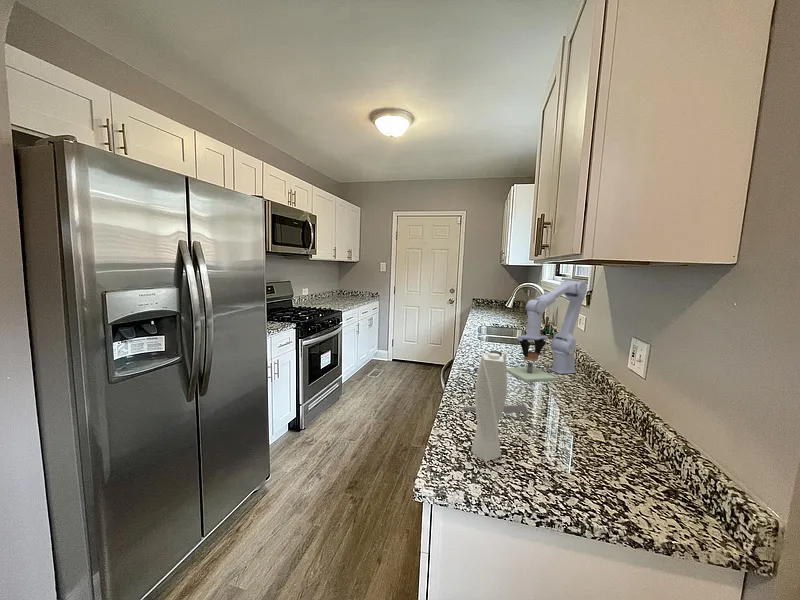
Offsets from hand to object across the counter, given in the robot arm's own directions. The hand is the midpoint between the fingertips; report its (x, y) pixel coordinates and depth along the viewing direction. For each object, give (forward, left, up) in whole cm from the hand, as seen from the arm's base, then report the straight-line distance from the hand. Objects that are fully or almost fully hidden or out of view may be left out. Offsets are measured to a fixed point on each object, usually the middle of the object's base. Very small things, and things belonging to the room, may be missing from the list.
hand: (531, 355), depth 152 cm
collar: (0, 0, -2) cm, 2 cm away
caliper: (+40, +33, -10) cm, 53 cm away
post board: (0, 0, -9) cm, 9 cm away
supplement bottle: (+20, +2, -9) cm, 22 cm away
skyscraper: (+55, +54, -9) cm, 78 cm away
